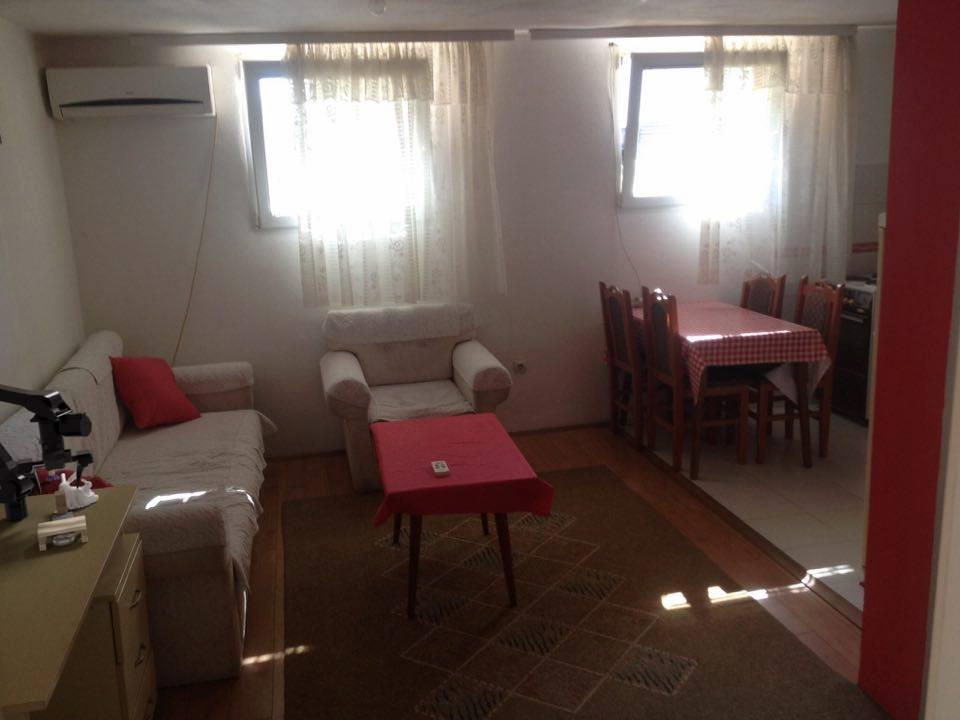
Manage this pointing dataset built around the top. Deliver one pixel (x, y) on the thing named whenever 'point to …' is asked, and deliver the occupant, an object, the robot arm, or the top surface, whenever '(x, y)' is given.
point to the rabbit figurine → (77, 493)
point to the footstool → (61, 529)
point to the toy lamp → (51, 473)
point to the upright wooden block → (61, 508)
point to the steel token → (63, 539)
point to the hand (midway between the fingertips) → (59, 491)
